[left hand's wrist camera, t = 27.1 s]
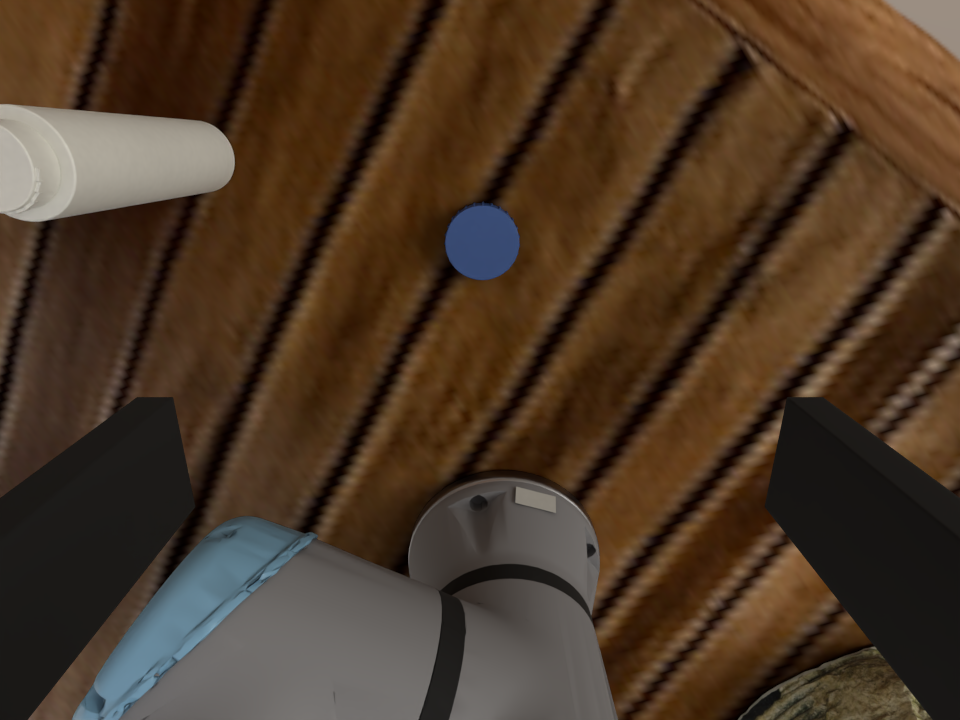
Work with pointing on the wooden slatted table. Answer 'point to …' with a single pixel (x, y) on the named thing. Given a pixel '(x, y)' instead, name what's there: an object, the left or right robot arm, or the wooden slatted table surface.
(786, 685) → the fossil
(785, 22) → the wooden slatted table surface
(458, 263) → the lid
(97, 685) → the left robot arm
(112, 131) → the white cylindrical bottle
